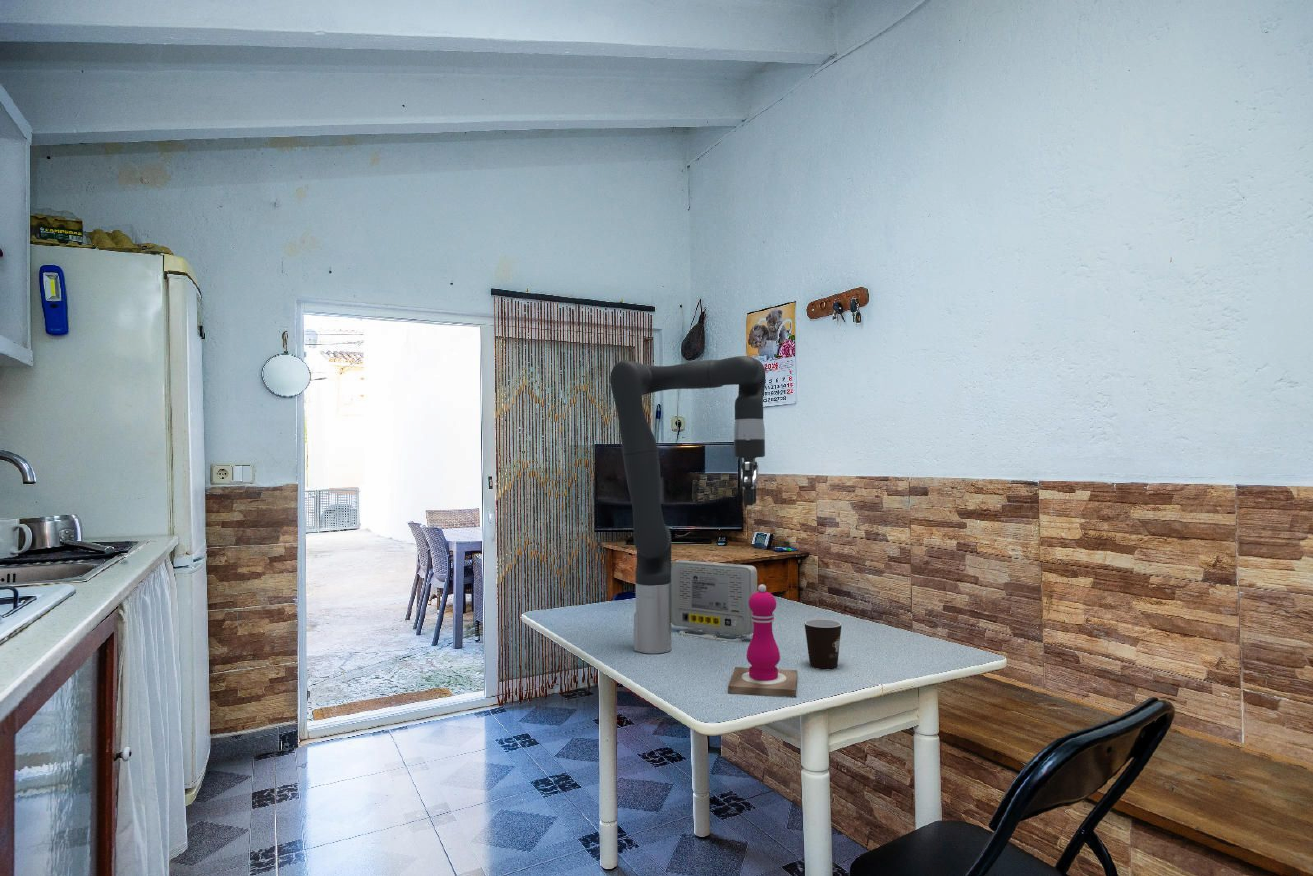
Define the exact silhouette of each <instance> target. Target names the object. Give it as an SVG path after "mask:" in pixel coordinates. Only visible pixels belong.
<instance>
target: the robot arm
mask: <svg viewBox="0 0 1313 876" xmlns="http://www.w3.org/2000/svg"><path fill="white" fill-rule="evenodd" d="M609 376H610V377H609V383H610V388H611V393H612V396H613V401H614V405H615V408H616V414H617V418H618V419H617V420H618V427H619V434H620V435H619V436H620V441H621V451H622V459H623V466H624V472H625V477H626V482H627V483H626V484H627V488H628V492H629V496H630V501H631V505H632V520H633V521H632V522H633V545H634V546H635V549H636V565H635V566H636V567H635V574H634V575H635V578H634V579H635V612H634V613H633V651H634V652H639V653H644V654H663V653H668V652H670V651H671V650H672V649H673V648H672V645H673V644H672V642H673V641H672V640H673V639H672V623H671V563H672V533H671V531H670V528H669V527H668V526H667V524H665V520H664V516H663V511H662V506H661V464H660V463H661V462H660V456H659V451H658V450H659V448H658V444H657V441H656V438H655V435H654V433H653V431H652V428H651V426H650V425H649V422H648V420H647V417H646V414H645V410H644V402H643V401H644V400H643V396H645V395H648V394H652V393H657V392H662V391H670V390H696V389H697V390H700V389H715V388H717V389H718V388H721V387H723V386H732V385H733V386H737V385H738V392H737V393H738V394H737V397H736V399H735V401H734V424H733V425H734V426H733V442H734V443H733V450H734V451H733V453H734V455H733V456H734V457H735V458H738V459H739V458H741V459H743V461H742V462H741V465H740V471H741V486H742V487H741V488H742V489H743V504H744V506H747V507H748V506H751V507H752V506H753V505H754V504H756V502H757V488H758V484H759V482H758V480H759V464H758V462H757V461H756V458H764V457H765V456H766V440H765V439H766V437H765V436H766V435H765V433H766V432H765V430H766V429H765V421H764V396H765V387H766V379H767V378H766V369H765V366H764V365H763V363H762V362H761V361H760V360H758V359H756V358H755V357H752V356H749V355H739V356H732V357H726V358H723V359H708V360H707V359H706V360H705V359H704V360H697V361H695V360H693V361H689V362H683V363H680V364H675V365H660V366H658V365H649V364H643V363H640V362H638V361H637V362H636V361H632V360H631V361H630V360H620V361H618V362H616V363H615V365H614V366H613V367H612V369H611V372H610V375H609Z"/></svg>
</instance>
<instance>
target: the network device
mask: <svg viewBox="0 0 1313 876" xmlns="http://www.w3.org/2000/svg"><path fill="white" fill-rule="evenodd" d="M756 592H758V570H757V568H756V567H755V566H754V565H750V564H749V565H747V564H734V563H723V562H721V563H720V562H709V561H695V560H681V559H680V560H676V561H673V562H672V561H671V625H672V626H675V627H680V628H684V629H682V630H679V635H680V636H681V635H683V636H682V637H686V636H692V637H691V638H693V637H698V638H697V639H700V638H703V640H707V639H709V641H714V640H716V641H715V642H721V641H727V642H726V643H729V642H735V643H739V642H738V641H740V642H742V640H743V641H745V640H746V639H747V638H748V636H750V635H753V628H754V626H753V621H752V620H751V618H752V616H751V614H752V613H753V612H752V611H751V610H750V608H749V599H750V597H751V595H752V594H754V593H756ZM690 630H692V631H698V630H702V631H701V632H706V631H707V632H706V633H705V634H695V633H694V634H692V633H689V632H691V631H690ZM684 632H687V633H684ZM720 634H722V635H728V634H731V635H730V636H735V635H736V637H737V638H734V639H728V638H723V637H719V636H721V635H720ZM715 636H717V637H715ZM744 639H745V640H744Z"/></svg>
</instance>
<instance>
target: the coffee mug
mask: <svg viewBox="0 0 1313 876" xmlns="http://www.w3.org/2000/svg"><path fill="white" fill-rule="evenodd" d="M842 625H843V624H842V623H841V622H840V621H838V620H835V619H824V618H823V619H822V618H818V619H817V618H816V619H808V620H806V621H804V631H805V639H806V644H807V645H806V646H807V652H808V654H807V655H808V661H809V666H810V667H811V666H812V667H811V668H813V667H814V669H816V668H819V669H818V670H823V669H830V670H834V668H835V669H837V668H838V666H839V665H838V664H839V654H840V643H841V635H842Z"/></svg>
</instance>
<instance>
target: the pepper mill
mask: <svg viewBox="0 0 1313 876" xmlns="http://www.w3.org/2000/svg"><path fill="white" fill-rule="evenodd" d="M749 608H750V610H751V611H752V612H753V613H752V614H751V616H752V618H751V620H752V621H753V626H754V628H753V633H752V636H751V640H750V642H749V644H748V647H747V649H746V660H747V662H748V663H749V665H750V666H749V667H748V668H749V676H750V678H752V679H755V680H760V681H769V680H774V679H777V677H778V668H777V667H776V666H777V665H778V664H779V662H780V661H781V655H780V650H779V645H777V642H776V639H775V637H774V633H773V622H775V615H774V611H776V609H777V600H776V598H775V596H774V595H773V594H772V593H770V592H769V591H767V586H766V585H765V584H759V585H758V586H757V592H756V593H754V594H752V595H751V597H750V599H749Z"/></svg>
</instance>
